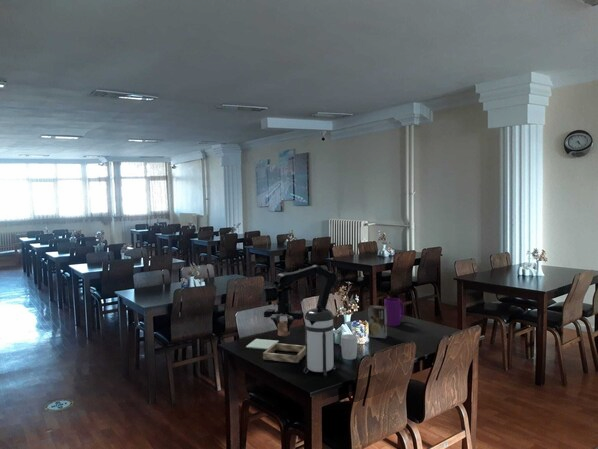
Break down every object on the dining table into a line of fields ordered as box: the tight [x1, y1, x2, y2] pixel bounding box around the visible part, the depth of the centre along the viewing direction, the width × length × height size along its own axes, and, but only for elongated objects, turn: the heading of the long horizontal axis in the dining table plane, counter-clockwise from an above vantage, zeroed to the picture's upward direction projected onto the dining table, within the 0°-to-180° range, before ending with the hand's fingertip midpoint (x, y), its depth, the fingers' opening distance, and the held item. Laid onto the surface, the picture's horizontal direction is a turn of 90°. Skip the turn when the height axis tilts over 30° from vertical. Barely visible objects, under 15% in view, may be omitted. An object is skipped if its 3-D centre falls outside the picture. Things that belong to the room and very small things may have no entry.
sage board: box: [245, 338, 280, 351], centre depth 245 cm, size 13×13×1 cm
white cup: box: [340, 333, 359, 361], centre depth 224 cm, size 8×8×10 cm
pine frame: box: [262, 342, 306, 364], centre depth 228 cm, size 17×15×3 cm
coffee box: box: [367, 305, 388, 339], centre depth 256 cm, size 9×6×16 cm
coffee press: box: [303, 303, 337, 378], centre depth 208 cm, size 17×16×30 cm
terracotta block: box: [277, 320, 291, 337], centre depth 228 cm, size 4×5×6 cm
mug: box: [383, 297, 405, 327], centre depth 280 cm, size 9×16×15 cm, turn 134°
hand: (284, 331), depth 228 cm, fingers closed on terracotta block, 4 cm apart
